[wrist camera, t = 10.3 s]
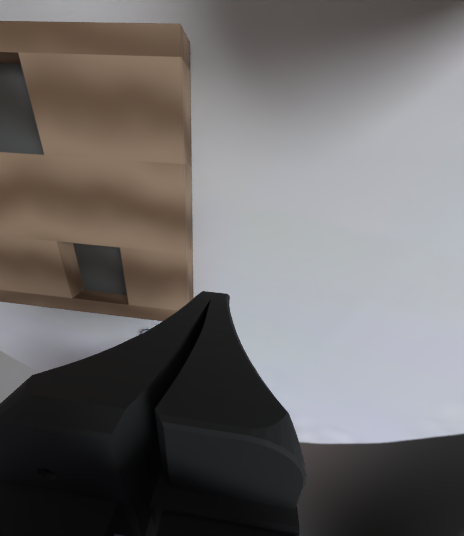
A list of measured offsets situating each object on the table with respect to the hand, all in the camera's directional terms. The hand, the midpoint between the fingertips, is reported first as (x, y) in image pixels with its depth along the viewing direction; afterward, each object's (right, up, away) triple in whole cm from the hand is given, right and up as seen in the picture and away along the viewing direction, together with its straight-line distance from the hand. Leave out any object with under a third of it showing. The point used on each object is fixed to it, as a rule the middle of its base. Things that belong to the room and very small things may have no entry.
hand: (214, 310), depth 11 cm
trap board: (-14, +8, +9) cm, 18 cm away
